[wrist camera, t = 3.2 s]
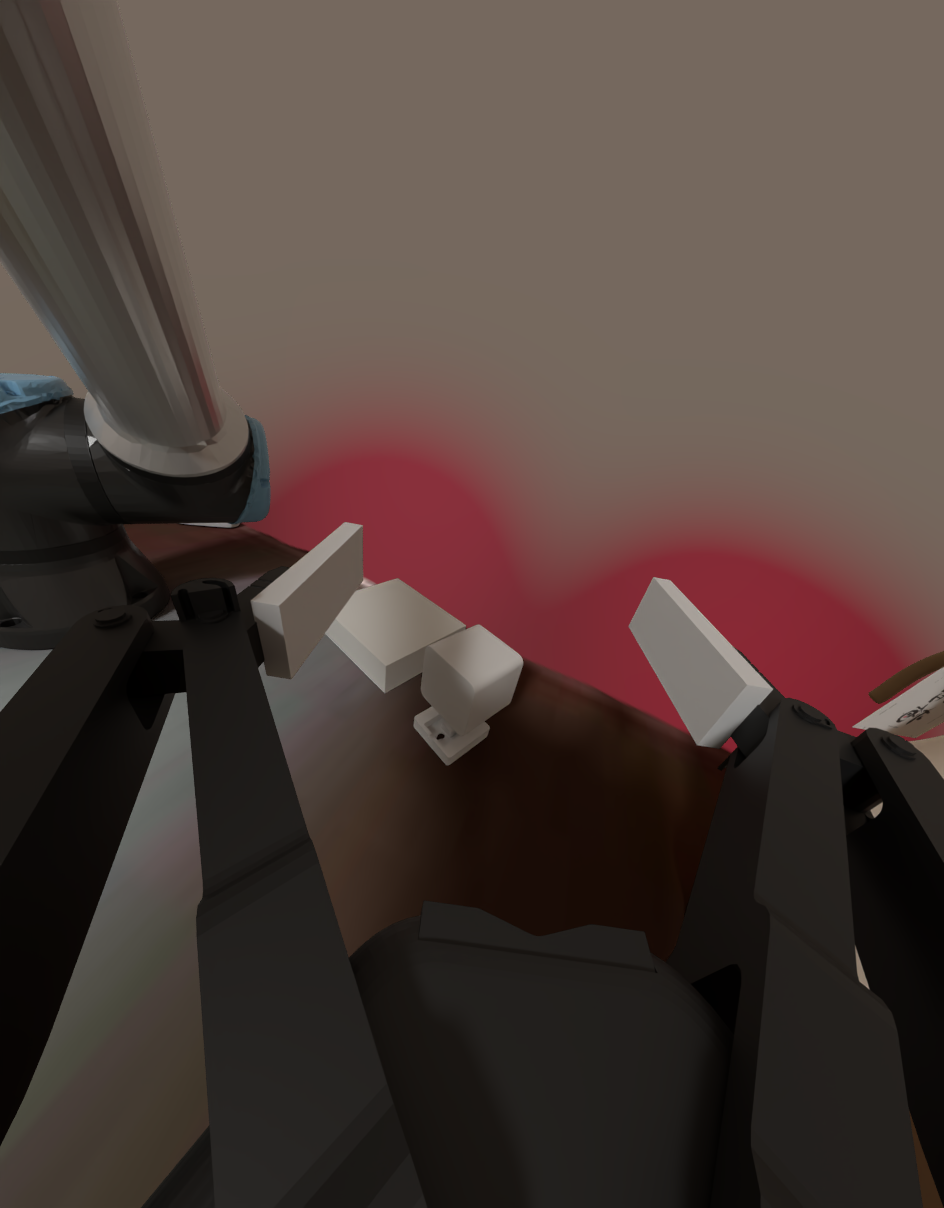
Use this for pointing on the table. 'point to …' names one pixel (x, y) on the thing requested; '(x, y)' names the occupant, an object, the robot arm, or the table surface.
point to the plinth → (390, 631)
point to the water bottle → (911, 718)
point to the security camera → (465, 689)
